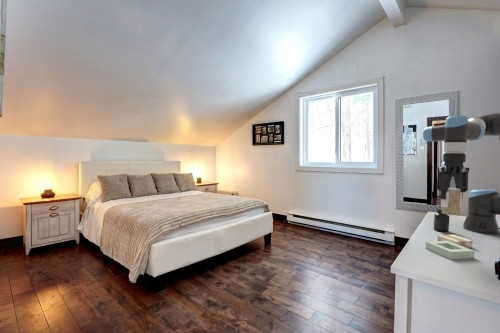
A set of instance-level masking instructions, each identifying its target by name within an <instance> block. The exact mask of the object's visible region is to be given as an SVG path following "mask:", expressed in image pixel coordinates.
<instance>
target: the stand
mask: <svg viewBox="0 0 500 333" xmlns="http://www.w3.org/2000/svg"><path fill="white" fill-rule="evenodd" d="M437 241H449V242H452V243H454V244H457V245H460V246H463V247H465V248H468V249H469V248H473V240H471V239H467V238H465V237H462V236H458V235H456V234H438V235H437Z"/></svg>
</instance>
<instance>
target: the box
mask: <svg viewBox="0 0 500 333" xmlns="http://www.w3.org/2000/svg"><path fill="white" fill-rule="evenodd" d="M444 189H445V188H444ZM460 191H461V189H456V187H449V188H448V191H447V192H449V201H448V208H446V207H441V209H442V213H443V214H447V215H449V216H458V215H460V208H459V207H460Z"/></svg>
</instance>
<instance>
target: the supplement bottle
mask: <svg viewBox="0 0 500 333" xmlns="http://www.w3.org/2000/svg"><path fill="white" fill-rule="evenodd" d="M433 230H434V231H437V232H439V233H440V232H441V233H448V232H449V230H450V215H448V214H443V213H442V208H436V212H435V213H434V216H433Z"/></svg>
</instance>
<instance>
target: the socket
mask: <svg viewBox="0 0 500 333" xmlns="http://www.w3.org/2000/svg"><path fill="white" fill-rule="evenodd" d="M425 249H426V250H429V251H431V252H432V253H435V254H438V255H440V256H442V257H444V258H447V259H450V260H463V259H475V250H473V249H470V248H469V247H468V248H465V247H463V246H460V245H457V244H454V243H452V242H449V241H438V240H436V241H435V240H434V241H426V242H425Z"/></svg>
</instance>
